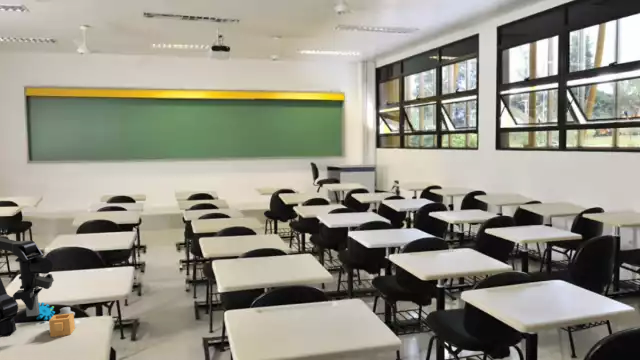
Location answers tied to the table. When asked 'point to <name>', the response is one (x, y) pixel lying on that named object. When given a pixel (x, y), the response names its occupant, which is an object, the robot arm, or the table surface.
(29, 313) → the wedge
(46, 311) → the gear
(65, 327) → the tan open box
